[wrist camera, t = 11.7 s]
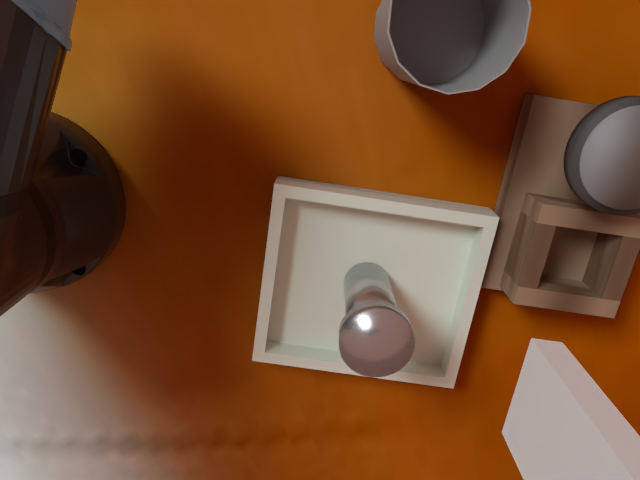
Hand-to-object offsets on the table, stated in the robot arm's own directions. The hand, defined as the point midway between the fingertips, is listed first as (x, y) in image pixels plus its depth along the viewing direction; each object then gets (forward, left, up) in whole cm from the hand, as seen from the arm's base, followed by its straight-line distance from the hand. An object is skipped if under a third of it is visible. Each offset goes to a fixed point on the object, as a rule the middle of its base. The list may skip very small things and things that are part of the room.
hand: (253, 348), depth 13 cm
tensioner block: (+22, -1, -33) cm, 39 cm away
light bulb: (+7, -11, -32) cm, 34 cm away
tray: (+7, -11, -33) cm, 35 cm away
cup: (+8, +10, -33) cm, 35 cm away
